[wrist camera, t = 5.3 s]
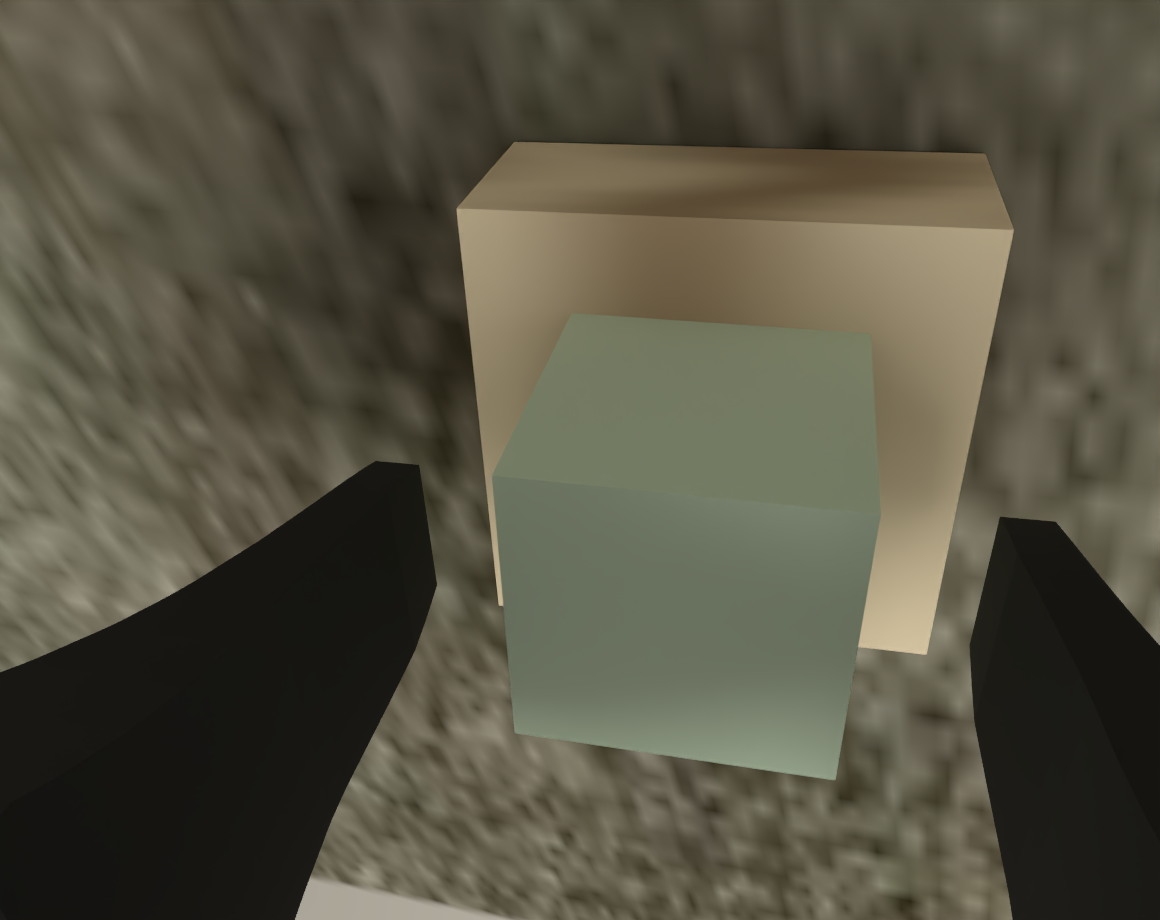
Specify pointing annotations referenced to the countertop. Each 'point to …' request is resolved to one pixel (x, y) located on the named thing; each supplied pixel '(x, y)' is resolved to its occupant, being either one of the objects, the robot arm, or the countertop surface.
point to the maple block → (760, 298)
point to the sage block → (691, 540)
